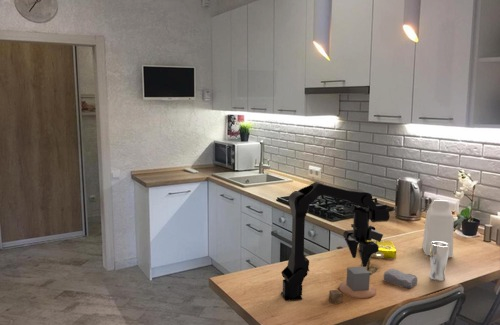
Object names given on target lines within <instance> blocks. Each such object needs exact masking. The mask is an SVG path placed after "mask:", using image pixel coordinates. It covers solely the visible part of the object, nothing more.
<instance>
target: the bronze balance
mask: <svg viewBox="0 0 500 325" xmlns="http://www.w3.org/2000/svg"><path fill="white" fill-rule="evenodd" d="M373 240H374V239H373ZM374 243H376V244H377V240H374ZM383 257H384V254H383V253H381V252H376V253H373V254H372V255H371V256H370V258H369V261H368V263H367V266H366V267H364V268H365V269H366V270H367V271H368V272H370V276H372V275H373V274H374V273H375V272H376V271H377V270H378V266H374V265H371V259H384V258H383ZM361 266H362V267H363V265H362V261H361V263H360V267H361Z"/></svg>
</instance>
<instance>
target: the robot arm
mask: <svg viewBox="0 0 500 325" xmlns="http://www.w3.org/2000/svg"><path fill="white" fill-rule="evenodd" d="M321 195H322V196H323V195H324V196H327V197H330V198H331V197H332V198H335V199H342V200H345V201H349V202H351V203H352V206H351V207H350V208H348V211H349V212H350V213H351V214H353V223H351V225H350V226H351V228H353V229H346V230H344V232H343V236H342V237H343V238H344V240H345V243H346V245H347V248H348V250H349V252H350V254H351V257H352V258H353V259H356V258H357V252H358V253H359V257H360V261H361V262H362V267H366V266H367V263H368V261H369V258H370V256H371V255H372V254H373V253H376V252H378V251H379V246H378V245H377V244H376V243H374V242H373V241H370V240H377V241H378V242H380V241H381V240H382V239H383V236H384V234H383V233H382V232H380V231H378V230H376V227H375V226H373V225H370V222H371V223H386V222H389V220H390V212H389V209H388V206H387V204H385V203H381V204H376V203H375V201H374V200H373V199H374V198H373V195H372V194H371V193H370V192H368V191H365V190H363V189H360V188H349V189H348V188H347V189H346V188H342V187H339V186H333V185H331V184H325V183H321V182H319V181H315V182H312V183H311V184H309V185H307V186H305V187H302V188H300V189H298V190H296V191H292V192H291V193H290V194H289V195H288V204H289V209H290V212H291V215H292V220H291V221H292V224H291V225H292V228H291V233H292V234H291V253H290V255H289V257H288V262H287V266H286V267H284V269H282V271H281V272H280V273H281V276H282V278H284V279H282V291H281V293H280V294H281V295H282V297H283V299H284V300H285V301H296V300H297V301H298V300H303V297H302V296H303V282H304V279H305V278H306V277H307V276H308V272H310V269H309V266H310V260H309V259H308V258H307V257H306V256H305V227H306V226H305V225H306V224H305V223H306V222H305V221H306V216H307V214H308V212H309V208H310V205H311V204H312V203H314V202H315V201H316V200H317V198H319V197H320V196H321ZM354 204H355V205H354ZM356 205H357V206H356ZM367 240H369V242H367Z"/></svg>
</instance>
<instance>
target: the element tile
mask: <svg viewBox="0 0 500 325" xmlns="http://www.w3.org/2000/svg"><path fill="white" fill-rule="evenodd" d="M370 241H373V242H374V239H372V240H370ZM367 242H369V240H367ZM377 245H378V246H379V251H378V252H381V253H383V254H384V258H383V259H387V258H395V259H396V258H397V249H396V246H395V245H394V242H393V241H391V240H382V239H381V241H380V242H378V241H377Z"/></svg>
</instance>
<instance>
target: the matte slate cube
mask: <svg viewBox="0 0 500 325" xmlns="http://www.w3.org/2000/svg"><path fill="white" fill-rule="evenodd" d="M370 278H371V275H370V272H368V271H367V270H366V269H365V268H364V267H363V265H362V266H361V265H360V266H350V267H349V266H347V267H346V280H347V283H346V284H347V285H348V286H349V287H350V289H351V290H352V291H365V290H369V283H370Z"/></svg>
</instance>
